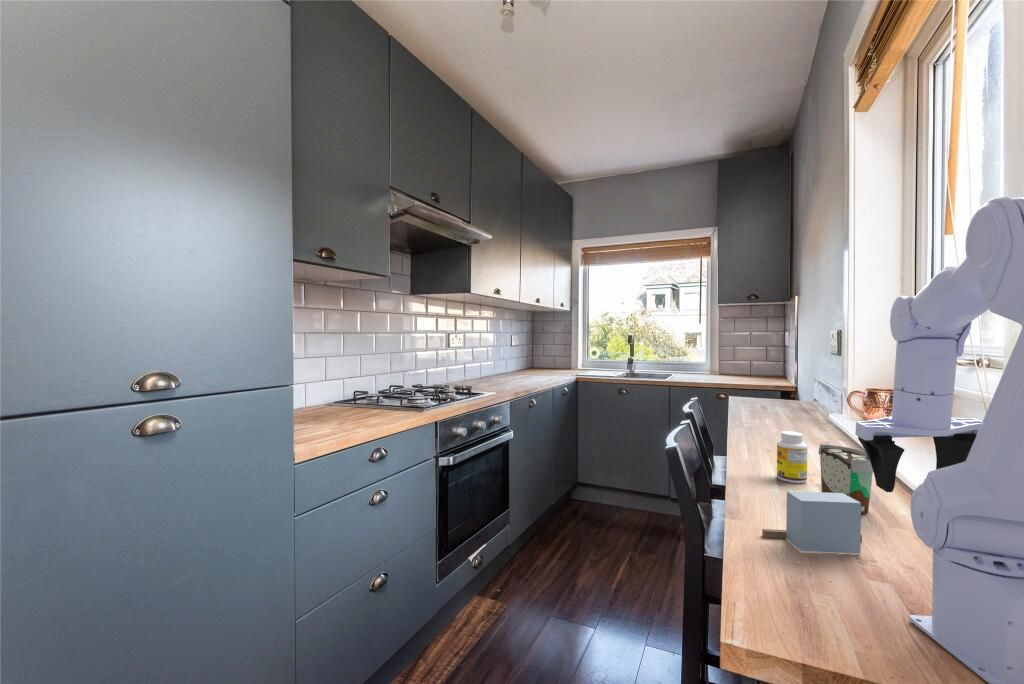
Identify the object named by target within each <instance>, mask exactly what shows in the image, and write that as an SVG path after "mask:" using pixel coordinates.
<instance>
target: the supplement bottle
mask: <svg viewBox="0 0 1024 684" xmlns="http://www.w3.org/2000/svg"><path fill="white" fill-rule="evenodd" d="M780 434H781V435H780V436H781V439H780V440H777V443H776V477H777V478H778V479H779V480H780V481H783V482H785V483H791V484H804V483H806V482H807V480H808V444H807V443H805V442H804V434H803V433H801V432H797V431H789V430H788V431H787V430H786V431H785V430H784V431H781V433H780Z"/></svg>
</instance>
